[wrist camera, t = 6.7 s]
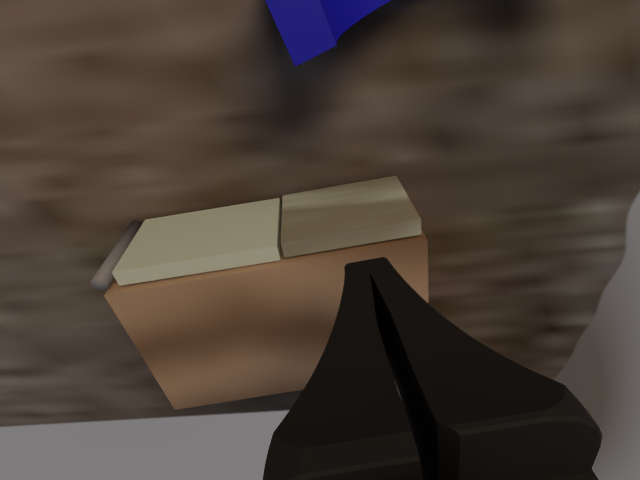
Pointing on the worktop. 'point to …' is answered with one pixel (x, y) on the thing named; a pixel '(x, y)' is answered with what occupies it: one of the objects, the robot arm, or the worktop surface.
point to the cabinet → (270, 297)
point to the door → (195, 243)
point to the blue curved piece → (316, 23)
